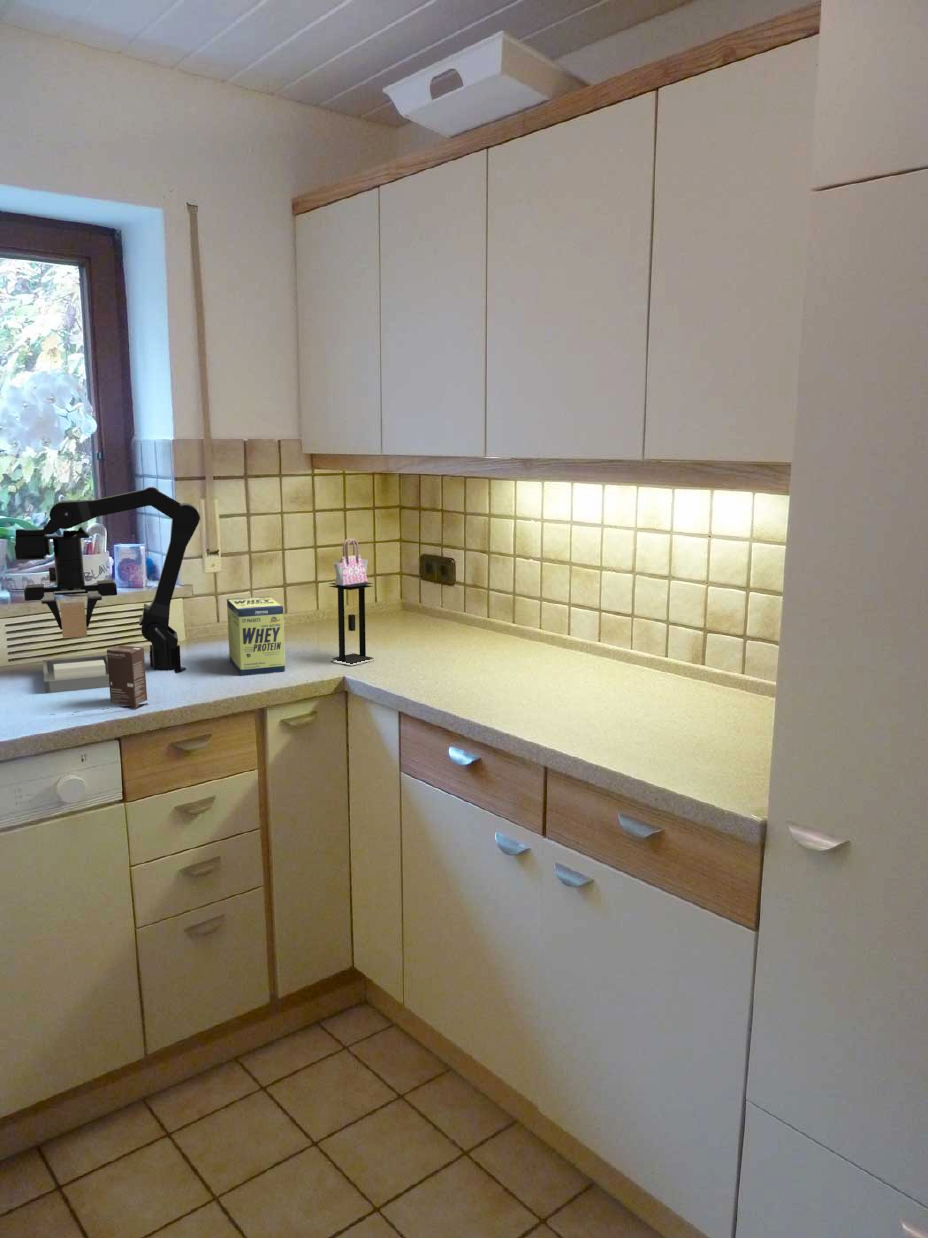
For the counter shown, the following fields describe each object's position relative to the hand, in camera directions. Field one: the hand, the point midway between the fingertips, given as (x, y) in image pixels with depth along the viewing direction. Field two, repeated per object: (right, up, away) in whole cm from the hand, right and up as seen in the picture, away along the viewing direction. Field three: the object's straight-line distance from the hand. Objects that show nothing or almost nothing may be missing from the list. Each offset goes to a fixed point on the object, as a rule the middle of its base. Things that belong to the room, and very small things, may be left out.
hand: (74, 628), depth 206 cm
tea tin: (0, -2, 0) cm, 2 cm away
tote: (+2, -12, -2) cm, 12 cm away
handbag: (+60, -8, +19) cm, 63 cm away
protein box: (+38, -9, +14) cm, 41 cm away
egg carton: (+4, -12, -7) cm, 15 cm away
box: (+19, -16, -19) cm, 31 cm away
